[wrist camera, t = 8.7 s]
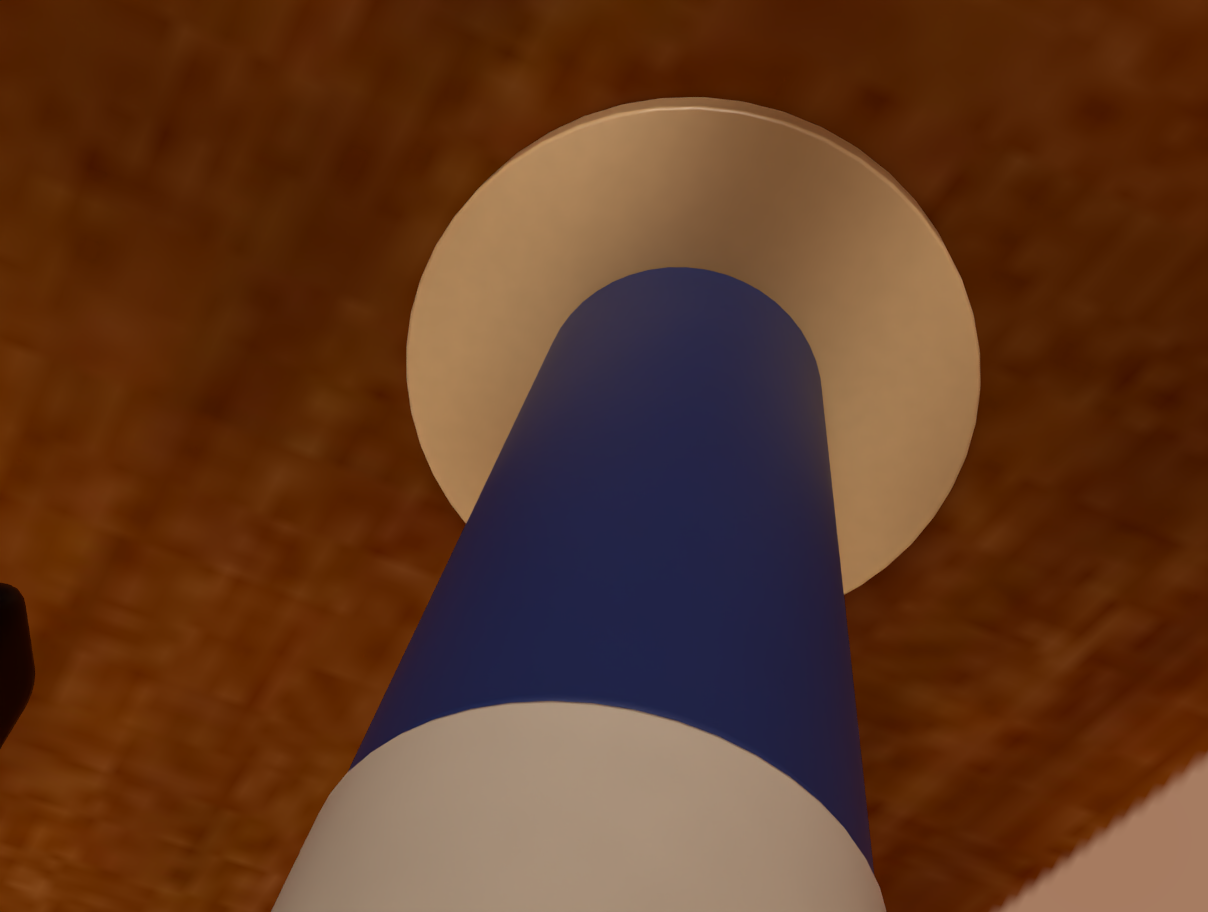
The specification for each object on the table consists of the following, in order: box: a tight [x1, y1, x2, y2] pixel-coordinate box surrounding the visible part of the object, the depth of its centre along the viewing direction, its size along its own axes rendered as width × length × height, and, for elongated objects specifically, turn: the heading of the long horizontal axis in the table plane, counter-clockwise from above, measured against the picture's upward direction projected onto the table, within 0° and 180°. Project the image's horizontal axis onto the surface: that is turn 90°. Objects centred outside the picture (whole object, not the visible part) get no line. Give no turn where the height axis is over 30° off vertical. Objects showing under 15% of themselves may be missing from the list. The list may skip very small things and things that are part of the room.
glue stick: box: [271, 267, 886, 912], centre depth 9 cm, size 4×4×9 cm
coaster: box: [406, 97, 981, 595], centre depth 13 cm, size 7×7×1 cm
